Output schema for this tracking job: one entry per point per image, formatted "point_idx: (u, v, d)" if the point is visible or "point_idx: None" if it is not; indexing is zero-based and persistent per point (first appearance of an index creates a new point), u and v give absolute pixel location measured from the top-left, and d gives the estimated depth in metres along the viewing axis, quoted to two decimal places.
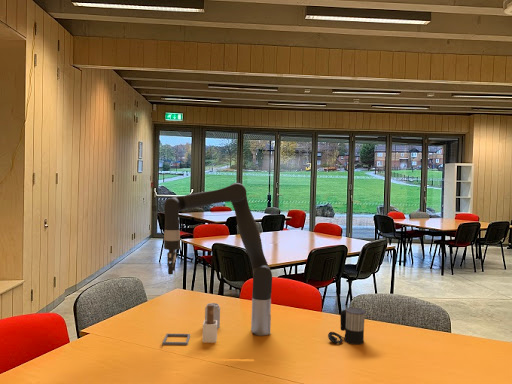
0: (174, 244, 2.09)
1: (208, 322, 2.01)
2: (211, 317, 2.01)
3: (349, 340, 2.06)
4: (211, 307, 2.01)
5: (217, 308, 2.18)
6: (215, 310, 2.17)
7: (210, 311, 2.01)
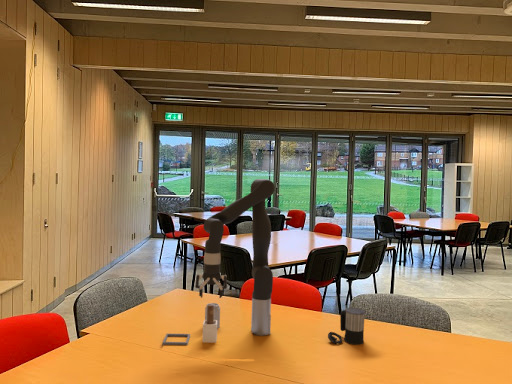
0: None
1: (208, 322, 2.01)
2: (211, 317, 2.01)
3: (349, 340, 2.06)
4: (211, 307, 2.01)
5: (217, 308, 2.18)
6: (215, 310, 2.17)
7: (210, 311, 2.01)
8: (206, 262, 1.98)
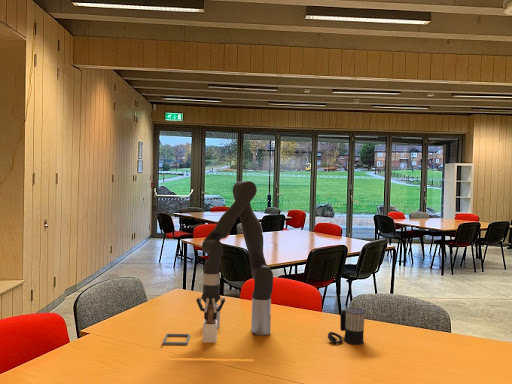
0: None
1: (208, 322, 2.01)
2: (211, 317, 2.01)
3: (349, 340, 2.06)
4: (211, 307, 2.01)
5: None
6: None
7: (210, 311, 2.01)
8: (205, 283, 1.99)
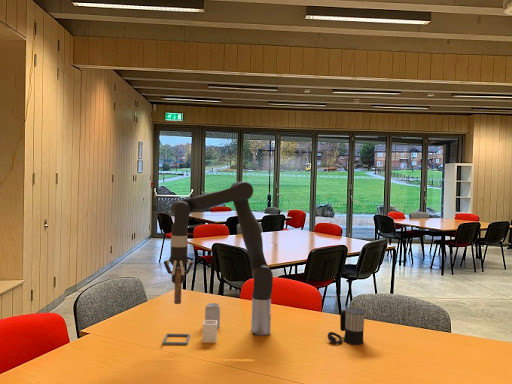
0: None
1: (176, 285, 1.99)
2: (179, 280, 1.99)
3: (348, 340, 2.05)
4: (179, 270, 1.98)
5: (217, 308, 2.18)
6: (215, 310, 2.17)
7: (177, 273, 1.98)
8: (172, 245, 1.96)
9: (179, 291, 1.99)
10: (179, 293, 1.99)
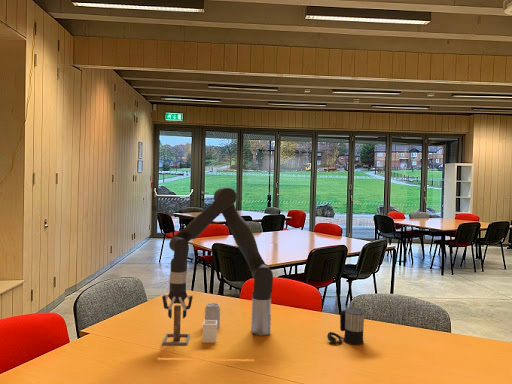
0: None
1: (175, 323, 1.99)
2: (178, 318, 1.99)
3: (348, 340, 2.05)
4: (178, 307, 1.99)
5: (217, 308, 2.18)
6: (215, 310, 2.17)
7: (176, 311, 1.99)
8: (171, 281, 1.97)
9: (178, 329, 2.00)
10: (178, 331, 2.00)
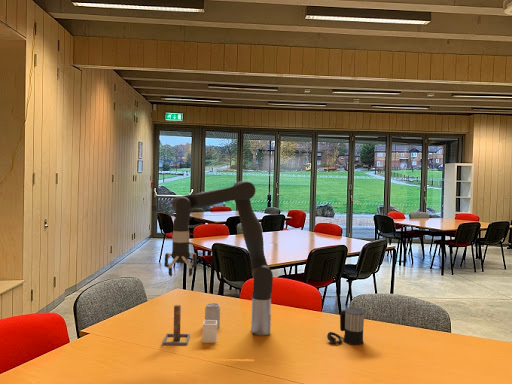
0: None
1: (175, 323, 1.99)
2: (178, 318, 1.99)
3: (348, 341, 2.05)
4: (178, 307, 1.99)
5: (217, 308, 2.18)
6: (215, 310, 2.17)
7: (176, 311, 1.99)
8: (174, 240, 1.97)
9: (178, 329, 2.00)
10: (178, 331, 2.00)
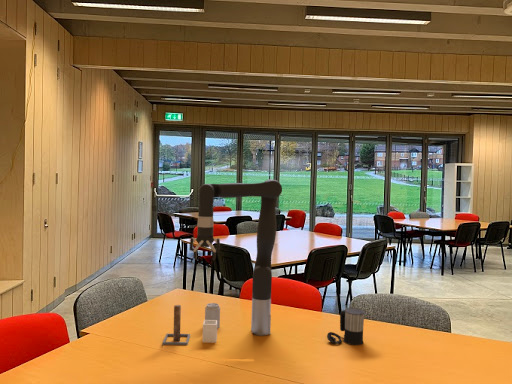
0: None
1: (175, 323, 1.99)
2: (178, 318, 1.99)
3: (348, 341, 2.05)
4: (178, 308, 1.99)
5: (217, 308, 2.18)
6: (215, 310, 2.17)
7: (176, 311, 1.99)
8: (199, 225, 2.07)
9: (178, 329, 2.00)
10: (178, 331, 2.00)
